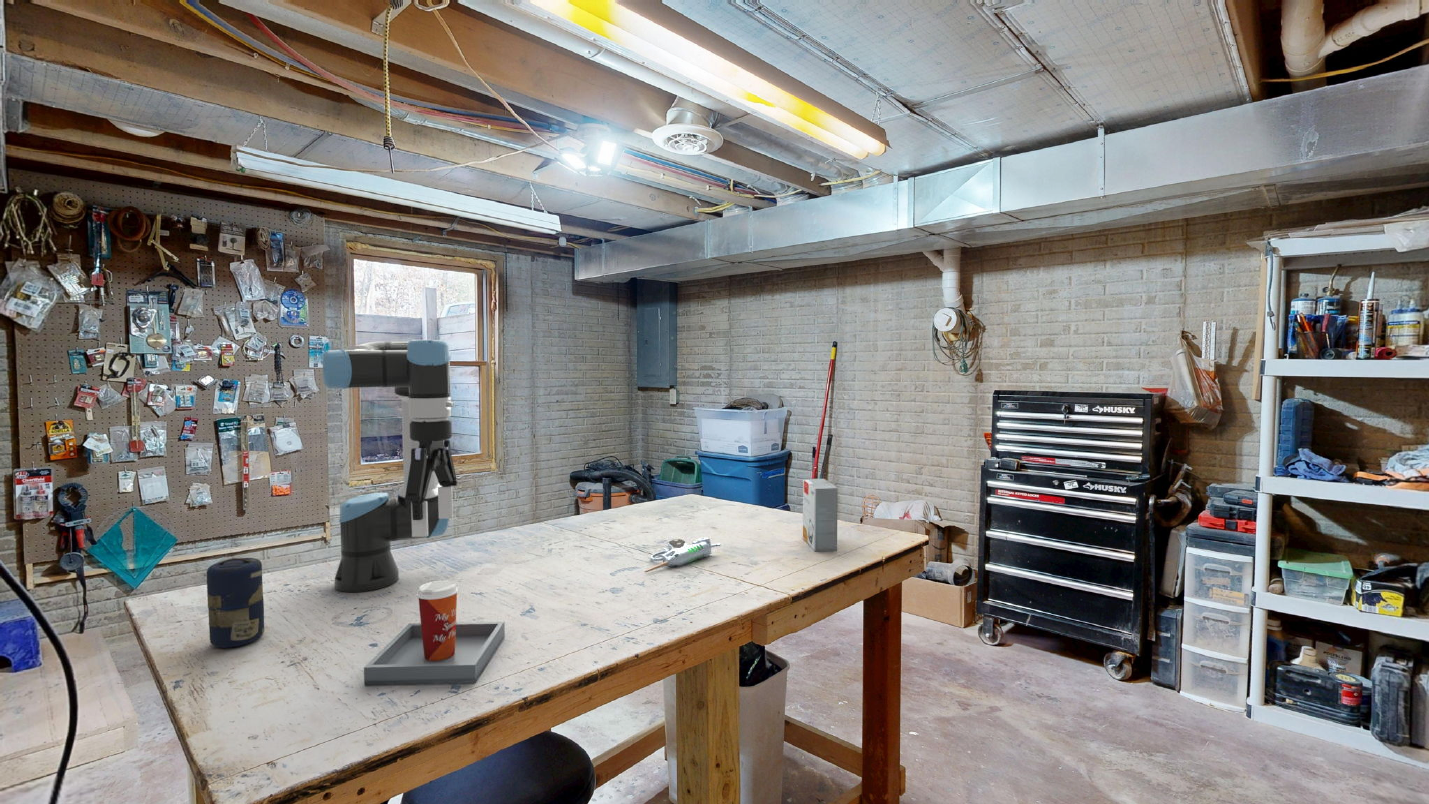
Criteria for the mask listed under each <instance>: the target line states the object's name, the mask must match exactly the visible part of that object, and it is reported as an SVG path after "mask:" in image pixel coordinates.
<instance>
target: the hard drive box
mask: <svg viewBox="0 0 1429 804" xmlns="http://www.w3.org/2000/svg"><path fill="white" fill-rule="evenodd" d="M838 491H839V488H838V487H836V486H835V485H834V484H832V483H830V482H829V481H828V480H827V479H825V478H804V479H802V538H803V540H804V541H805V542H806V543H807V544H808V545H809V546H810V548H811V549H812V550H813V551H814V552H828V551H829V552H830V551H832V552H833V551H838V501H839V500H838V496H839V495H838V494H839V493H838Z"/></svg>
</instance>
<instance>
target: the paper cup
mask: <svg viewBox="0 0 1429 804" xmlns="http://www.w3.org/2000/svg"><path fill="white" fill-rule="evenodd" d="M458 592H459V587H457V583H456V582H454V581H453V580H446V579H445V580H443V579H442V580H435V581H429V582H426V583H424V584H421V585H420V586H419V588H418V592H417V593H416V594H415V595H416V597H417V598H418V607H419V608H418V609H419V616H420V617H419V618H420V623H421V630H422V640H423V649H424V656H425V659H426V660H428V661H440V660H445V659H448V658H450V657H451V656H453V655H454V653H455V638H456V623H457V600H458Z"/></svg>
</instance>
